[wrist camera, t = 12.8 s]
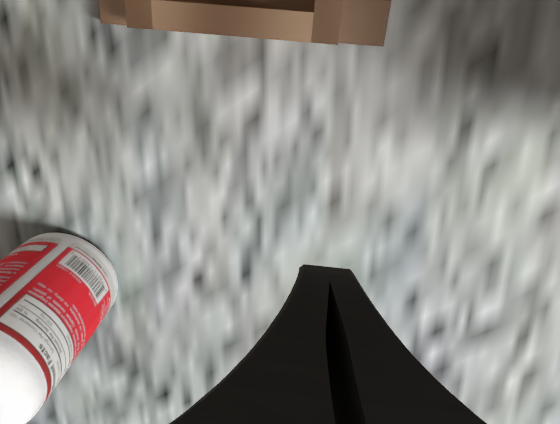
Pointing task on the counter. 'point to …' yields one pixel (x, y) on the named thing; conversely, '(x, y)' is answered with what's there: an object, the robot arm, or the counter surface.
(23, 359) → the pill bottle
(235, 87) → the counter surface
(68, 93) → the counter surface
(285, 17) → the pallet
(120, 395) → the counter surface
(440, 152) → the counter surface
